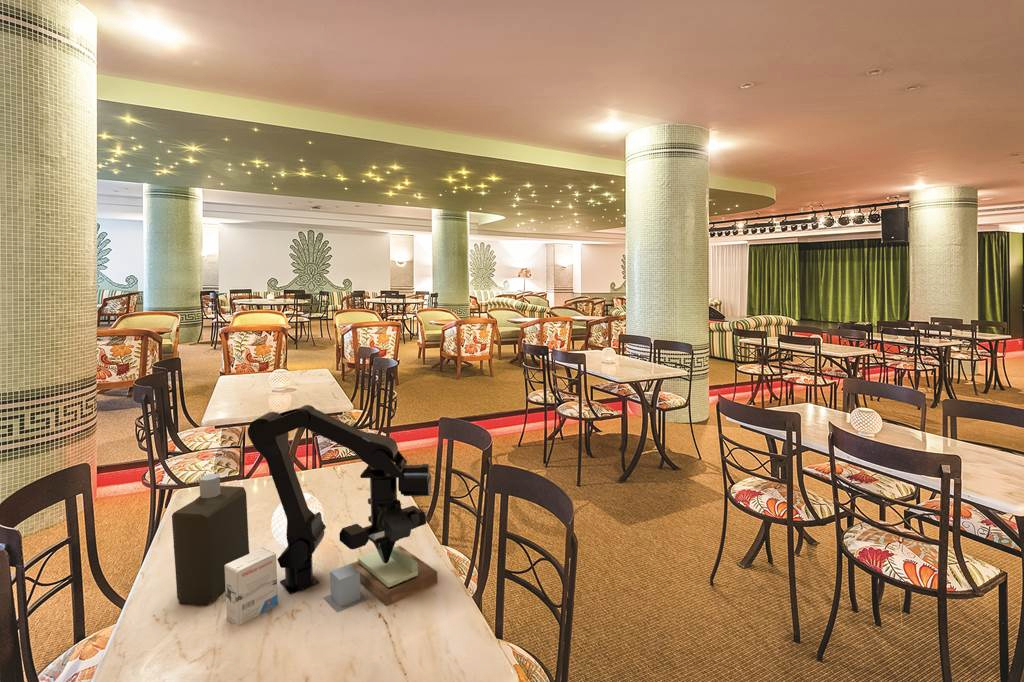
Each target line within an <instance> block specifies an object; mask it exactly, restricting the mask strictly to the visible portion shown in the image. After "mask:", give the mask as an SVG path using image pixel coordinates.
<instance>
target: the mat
mask: <svg viewBox="0 0 1024 682" xmlns="http://www.w3.org/2000/svg"><path fill="white" fill-rule="evenodd" d="M322 599H323V600H324V601H325V602H326V603H327V604H328V605H329V606H330V607H331V608H332V609H333V610H334V611H335V613H340V612H343V611H345V610H347V609H349V608H351V607H355V606H357V605H358V604H361V603H363V602H366V601H369V598H368V597H367V596H366V595H365V594H363V592H361V591H360V599H359V600H356V601H354V602H352V603H349V604H347V605H345V606H342V607H339V606H338V604H337V603H336V602H335V601H334V600H333V599H332V598H331V593H330V594H328V595H326V596H323V597H322Z"/></svg>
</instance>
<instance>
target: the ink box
mask: <svg viewBox="0 0 1024 682" xmlns="http://www.w3.org/2000/svg"><path fill="white" fill-rule="evenodd" d="M277 573H278V572H277V553H276V552H273V551H271V550H269V549H267V548H264V547H261V548H259V549H256V550H255V551H252V552H249V554H248V555H245V556H243V557H241V558H239V559H236V560H234V561H232V562H230V563H228V564H225V607H226V609H225V610H226V619H227V620H229V622H231V623H232V624H234V625H238V626H241V625H242V624H244V623H246V622H249V621H250V620H252V619H254V618H255V617H258V616H259V615H261V614H263V613H264V612H267V611H268V610H271V609H272V608H273V607H275V606H277V605H278V604H279V599H278V597H279V595H278V574H277Z"/></svg>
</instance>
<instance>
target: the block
mask: <svg viewBox="0 0 1024 682" xmlns="http://www.w3.org/2000/svg"><path fill="white" fill-rule="evenodd" d="M329 578H330V581H329V584H330V594H331V598H332V599H333V600H334V601H335V602H336V603H337V604H338V606H339V607H342V606H345V605H347V604H349V603H352V602H354V601H356V600H359V599H360V592H361V584H360V572H359V571H358V570H357V569H355V568H354V567H353V566H352V565H351V563H349V564H346V565H342V566H340V567H338V568H335V569H332V570H330V571H329Z"/></svg>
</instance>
